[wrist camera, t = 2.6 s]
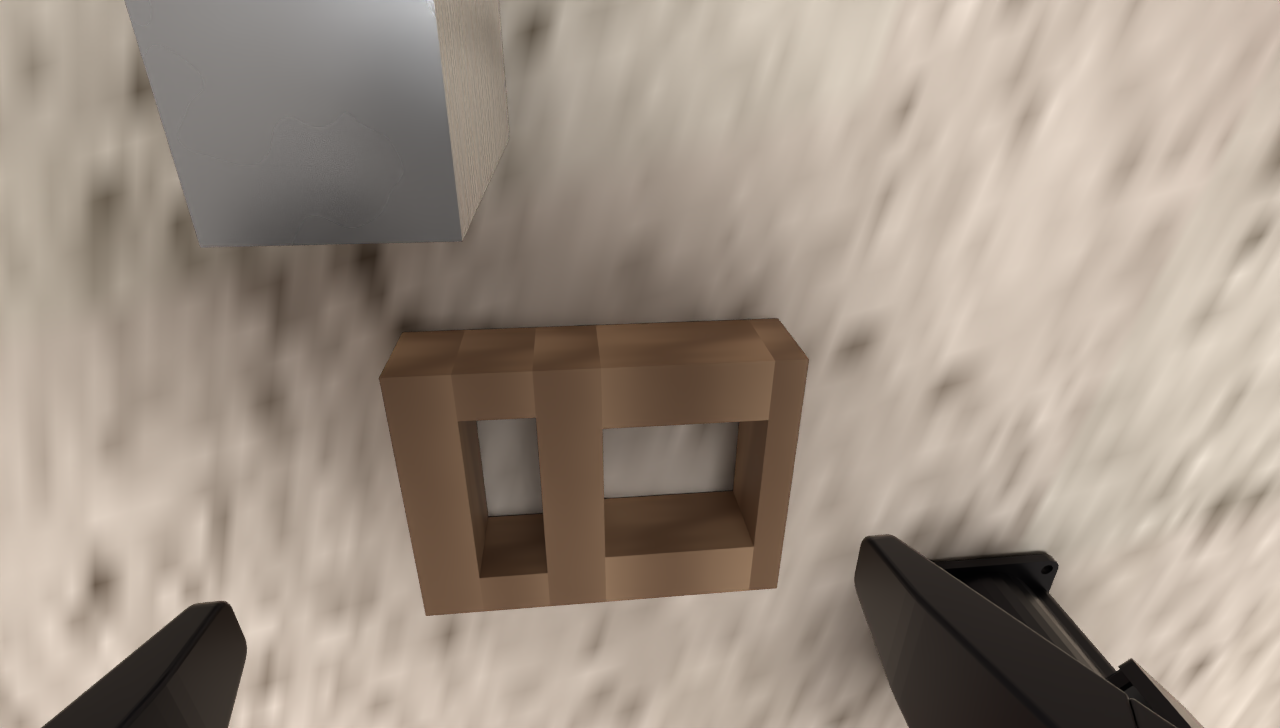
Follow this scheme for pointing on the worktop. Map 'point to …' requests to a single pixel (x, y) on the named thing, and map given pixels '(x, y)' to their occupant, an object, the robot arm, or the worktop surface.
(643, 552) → the brown wooden slotted frame
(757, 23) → the worktop surface
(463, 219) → the square bit
